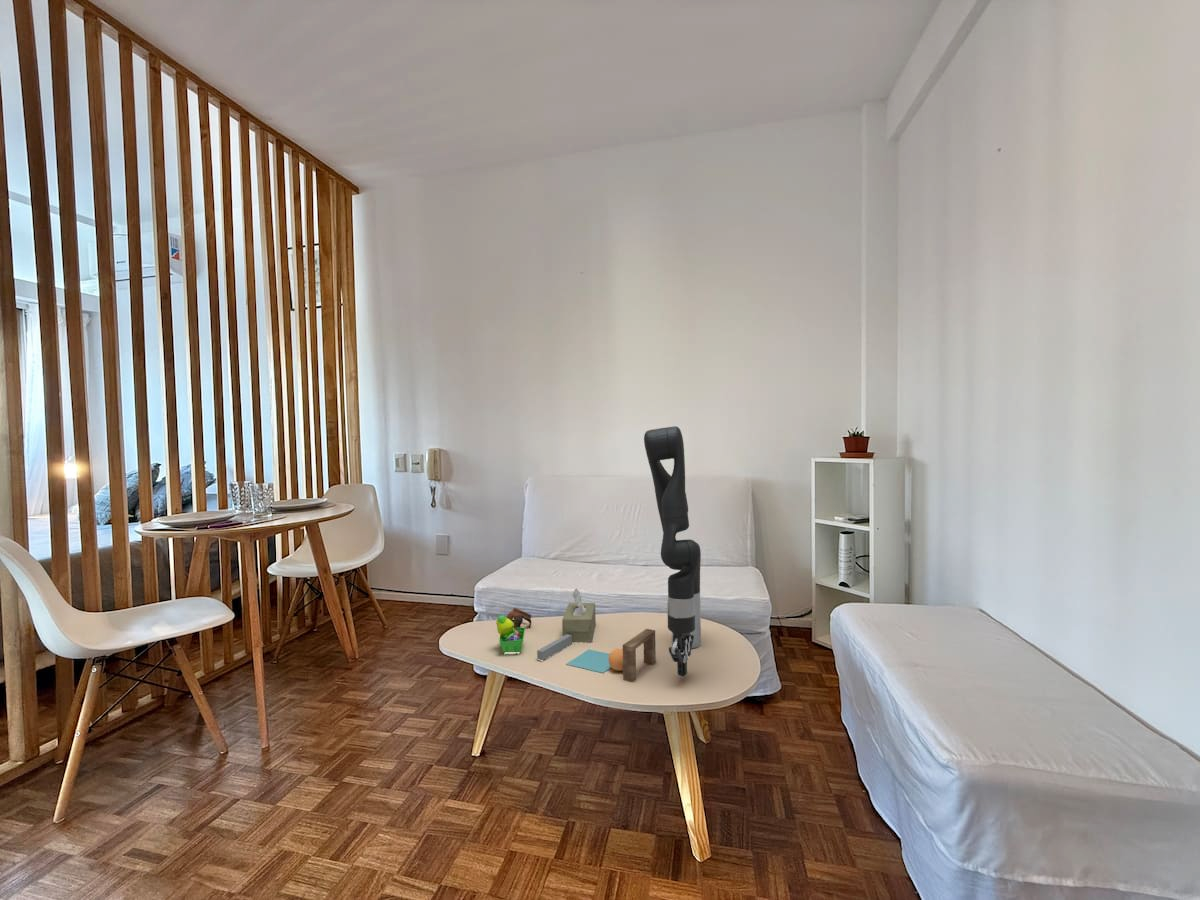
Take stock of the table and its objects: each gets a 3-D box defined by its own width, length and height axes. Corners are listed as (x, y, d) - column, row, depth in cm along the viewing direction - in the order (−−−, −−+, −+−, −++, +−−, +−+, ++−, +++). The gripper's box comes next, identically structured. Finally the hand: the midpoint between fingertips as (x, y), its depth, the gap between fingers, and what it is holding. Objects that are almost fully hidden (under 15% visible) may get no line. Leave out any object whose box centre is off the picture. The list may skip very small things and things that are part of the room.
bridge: (623, 679, 149) (622, 645, 149) (646, 660, 162) (646, 628, 162) (632, 682, 148) (632, 647, 148) (655, 662, 161) (655, 630, 161)
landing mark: (588, 649, 172) (588, 649, 172) (624, 657, 165) (624, 656, 165) (565, 664, 160) (565, 664, 160) (603, 673, 154) (603, 672, 154)
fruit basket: (523, 655, 168) (523, 619, 168) (495, 657, 167) (494, 621, 167) (525, 642, 179) (524, 608, 179) (498, 644, 178) (497, 610, 178)
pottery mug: (500, 627, 196) (510, 605, 199) (524, 637, 197) (533, 615, 200) (502, 629, 185) (512, 606, 187) (527, 640, 186) (537, 617, 188)
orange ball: (622, 667, 159) (611, 650, 161) (636, 659, 156) (624, 641, 158) (612, 677, 154) (600, 659, 155) (626, 669, 151) (614, 650, 153)
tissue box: (569, 624, 197) (568, 581, 197) (595, 624, 196) (594, 581, 196) (562, 643, 178) (561, 596, 178) (591, 643, 178) (591, 596, 177)
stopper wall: (566, 643, 178) (566, 634, 178) (571, 644, 177) (571, 635, 177) (537, 660, 164) (537, 650, 164) (542, 661, 163) (542, 651, 163)
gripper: (677, 604, 156) (678, 663, 156) (658, 617, 144) (659, 681, 145) (702, 607, 152) (703, 668, 152) (685, 621, 141) (686, 687, 141)
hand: (682, 674), depth 148 cm, fingers closed
